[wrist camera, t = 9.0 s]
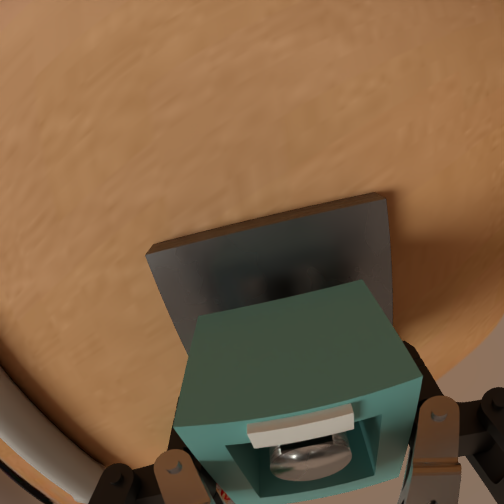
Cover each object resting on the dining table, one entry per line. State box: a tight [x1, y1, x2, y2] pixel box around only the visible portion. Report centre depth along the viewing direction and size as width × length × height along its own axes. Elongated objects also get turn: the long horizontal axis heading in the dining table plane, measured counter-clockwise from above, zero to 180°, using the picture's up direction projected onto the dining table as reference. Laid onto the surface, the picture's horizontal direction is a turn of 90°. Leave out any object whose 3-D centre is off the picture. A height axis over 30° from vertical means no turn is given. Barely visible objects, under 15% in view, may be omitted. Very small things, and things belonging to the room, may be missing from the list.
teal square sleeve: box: [173, 279, 423, 504], centre depth 10 cm, size 6×6×5 cm
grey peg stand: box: [145, 192, 393, 481], centre depth 11 cm, size 10×10×8 cm
